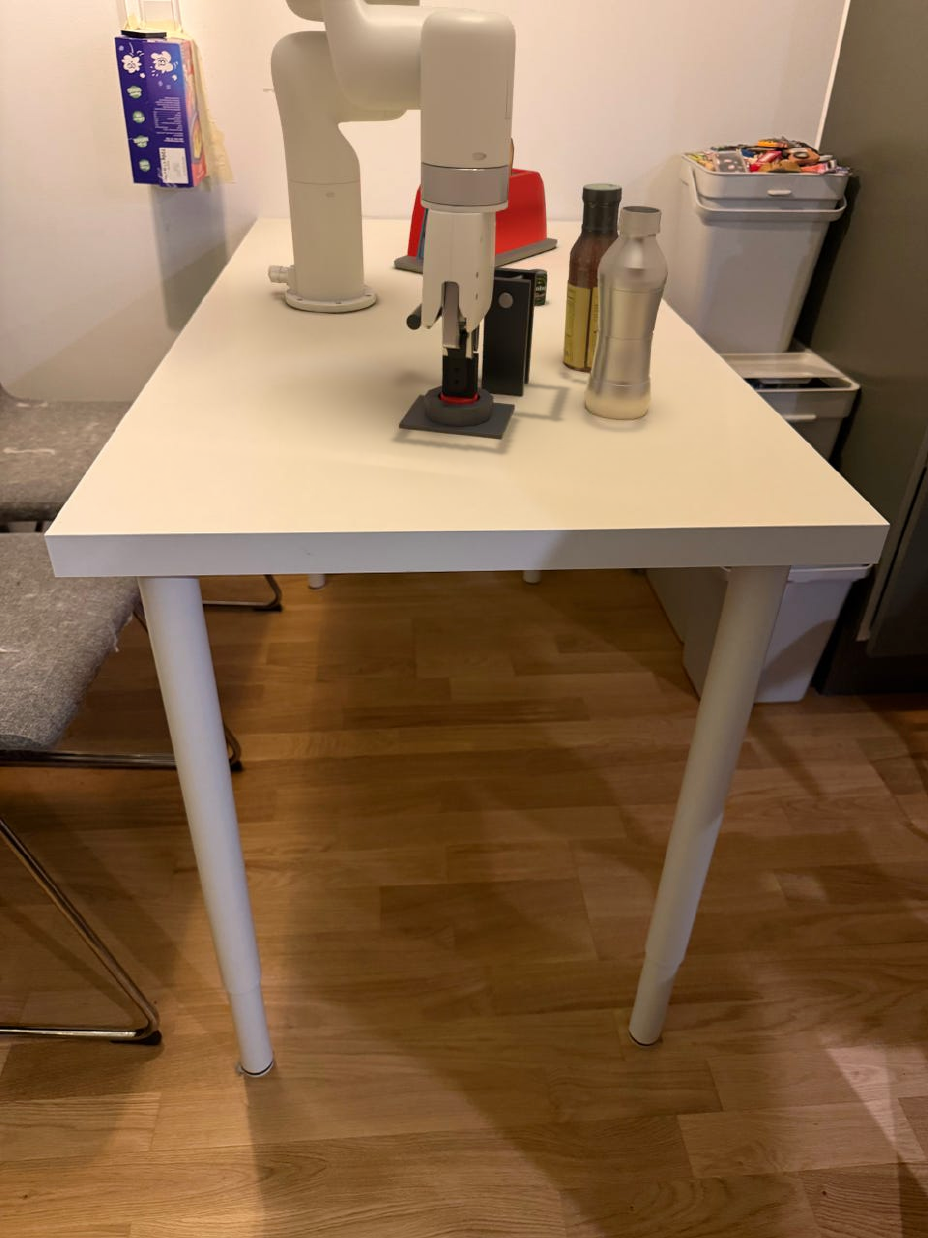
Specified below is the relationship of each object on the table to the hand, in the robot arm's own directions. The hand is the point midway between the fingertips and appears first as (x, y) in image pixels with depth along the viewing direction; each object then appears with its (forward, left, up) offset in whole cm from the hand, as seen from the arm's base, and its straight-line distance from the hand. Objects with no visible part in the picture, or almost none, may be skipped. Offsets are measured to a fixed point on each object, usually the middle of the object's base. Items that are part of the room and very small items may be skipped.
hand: (459, 394), depth 85 cm
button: (0, 0, -2) cm, 2 cm away
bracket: (+3, +10, -4) cm, 11 cm away
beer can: (+1, +48, -4) cm, 48 cm away
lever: (-1, +10, +5) cm, 11 cm away
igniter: (0, 0, -4) cm, 4 cm away
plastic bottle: (+15, +7, -4) cm, 17 cm away
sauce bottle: (+11, +20, -4) cm, 23 cm away
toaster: (-12, +73, -4) cm, 74 cm away
